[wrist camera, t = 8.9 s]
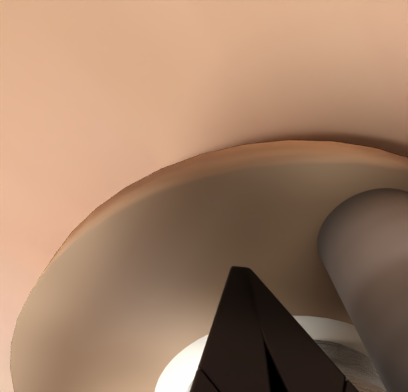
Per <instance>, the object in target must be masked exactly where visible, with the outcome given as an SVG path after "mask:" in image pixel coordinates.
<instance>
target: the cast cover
mask: <svg viewBox="0 0 408 392" xmlns="http://www.w3.org/2000/svg"><path fill="white" fill-rule="evenodd" d="M313 340H314V339H313ZM314 341H315V342H316V343H317V344H318V345H319V347H320V348H321V349H322V350H323V351H324V352H325V353H326V355H327V356H328V357H329V358H330V359H331V360H332V361H333V363H334V364H335V365H336V366H337V367H338V368H339V369H340V371H341V372H342V373H343V374H344V375H345V376H346V380H349V381H350V382H351V383H352V384H353V385H354V386H355V387H356V389H357V390H358V391H359V392H387V391H386V389H385V387H384V385H383V383H382V381H381V379H380V377H379V375H378V373H377V371H376V369H375V367H374V365H373V363H372V361H371V359H370V357H368V356H367V355H365V354H363V353H361V352H359V351H357V350H355V349H353V348H350V347H347V346H344V345H341V344H337V343H333V342H329V341H322V340H314ZM193 380H194V379H193ZM193 380H192V382H191V383H190V385H189V386H188V388H187V390H186V392H189V391H190V389H191V386H192V383H193Z"/></svg>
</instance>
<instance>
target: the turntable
mask: <svg viewBox="0 0 408 392" xmlns="http://www.w3.org/2000/svg"><path fill="white" fill-rule="evenodd" d="M232 266H240V267H249V268H251V269H252V270H253V272H254V273H255V274H256V275H257V276H258V277H259V278H260V279H261V281H262V282H263V283H264V284H265V285H266V286H267V287H268V289H269V290H270V291H271V292H272V293H273V294H274V295H275V297H276V298H277V299H278V300H279V301H280V302H281V303H282V305H283V306H284V307H285V308H286V309H287V310H288V311H289V312H290V314H291V315H292V316H293V317H294V318H295V319H296V320H297V322H298V323H299V324H300V325H301V326H302V327H303V328H304V330H305V331H306V332H307V333H308V334H309V335H310V336H311V338H312V339H314V340H322V341H329V342H333V343H337V344H341V345H344V346H347V347H350V348H353V349H355V350H357V351H359V352H361V353H363V354H365V355H367V356H368V357H370V359H371V361H372V363H373V365H374V367H375V369H376V371H377V373H378V375H379V377H380V379H381V381H382V383H383V385H384V387H385V389H386V391H387V392H408V158H406V157H403V156H400V155H397V154H393V153H390V152H387V151H384V150H380V149H377V148H372V147H366V146H360V145H353V144H347V143H341V142H334V141H304V140H285V141H275V142H265V143H254V144H244V145H240V146H235V147H231V148H227V149H222V150H218V151H213V152H209V153H204V154H201V155H198V156H195V157H192V158H190V159H187V160H184V161H181V162H178V163H176V164H173V165H170V166H167V167H165V168H162V169H160V170H158V171H156V172H154V173H152V174H150V175H148V176H146V177H144V178H143V179H141V180H139V181H137V182H135V183H133V184H131V185H129V186H127V187H126V188H124V189H123V190H121V191H120V192H118V193H117V194H116V195H114V196H113V197H111V198H110V199H109V200H107V201H106V202H104V203H103V204H102V205H100V206H99V207H97V208H96V209H95V210H94V211H93V212H92V213H91V214H90V215H89V216H88V217H87V218H86V219H85V220H84V221H83V222H82V223H80V224H79V225H78V226H77V227H76V228H75V229H74V230H73V231H72V233H71V234H70V235H69V237H68V238H67V239H66V241H65V242H64V243H63V245H62V246H61V247H60V249H59V250H58V251H57V253H56V254H55V255H54V257H53V258H52V260H51V261H50V263H49V264H48V266H47V267H46V269H45V271H44V272H43V274H42V275H41V277H40V278H39V280H38V281H37V283H36V284H35V286H34V287H33V289H32V290H31V292H30V294H29V296H28V298H27V300H26V302H25V304H24V306H23V308H22V310H21V312H20V314H19V316H18V319H17V323H16V326H15V330H14V334H13V338H12V342H11V356H10V371H11V377H12V382H13V388H14V392H186V390H187V388H188V386H189V385H190V383H191V382H192V380H193V379H194V377H195V374H196V371H197V369H198V365H199V362H200V359H201V356H202V353H203V350H204V347H205V344H206V341H207V338H208V335H209V332H210V329H211V326H212V323H213V320H214V317H215V313H216V310H217V307H218V304H219V301H220V298H221V295H222V292H223V289H224V286H225V283H226V280H227V277H228V274H229V271H230V268H231V267H232Z"/></svg>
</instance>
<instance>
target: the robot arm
mask: <svg viewBox="0 0 408 392" xmlns="http://www.w3.org/2000/svg"><path fill="white" fill-rule="evenodd" d="M189 392H359V391H358V390H357V389H356V387H355V386H354V385H353V384H352V383H351V382H350V381H349V380H346V376H345V375H344V374H343V373H342V372H341V371H340V369H339V368H338V367H337V366H336V365H335V364H334V363H333V361H332V360H331V359H330V358H329V357H328V356H327V355H326V353H325V352H324V351H323V350H322V349H321V348H320V347H319V345H318V344H317V343H316V342H315V341H314V340H313V339H312V338H311V336H310V335H309V334H308V333H307V332H306V331H305V330H304V328H303V327H302V326H301V325H300V324H299V323H298V322H297V320H296V319H295V318H294V317H293V316H292V315H291V314H290V312H289V311H288V310H287V309H286V308H285V307H284V306H283V305H282V303H281V302H280V301H279V300H278V299H277V298H276V297H275V295H274V294H273V293H272V292H271V291H270V290H269V289H268V287H267V286H266V285H265V284H264V283H263V282H262V281H261V279H260V278H259V277H258V276H257V275H256V274H255V273H254V272H253V270H252V269H251V268H249V267H240V266H232V267H231V268H230V271H229V274H228V277H227V280H226V283H225V286H224V289H223V292H222V295H221V298H220V301H219V304H218V307H217V310H216V313H215V317H214V320H213V323H212V326H211V329H210V332H209V335H208V338H207V341H206V344H205V347H204V350H203V353H202V356H201V359H200V362H199V365H198V369H197V371H196V374H195V377H194V380H193V383H192V386H191V389H190V391H189Z"/></svg>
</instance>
